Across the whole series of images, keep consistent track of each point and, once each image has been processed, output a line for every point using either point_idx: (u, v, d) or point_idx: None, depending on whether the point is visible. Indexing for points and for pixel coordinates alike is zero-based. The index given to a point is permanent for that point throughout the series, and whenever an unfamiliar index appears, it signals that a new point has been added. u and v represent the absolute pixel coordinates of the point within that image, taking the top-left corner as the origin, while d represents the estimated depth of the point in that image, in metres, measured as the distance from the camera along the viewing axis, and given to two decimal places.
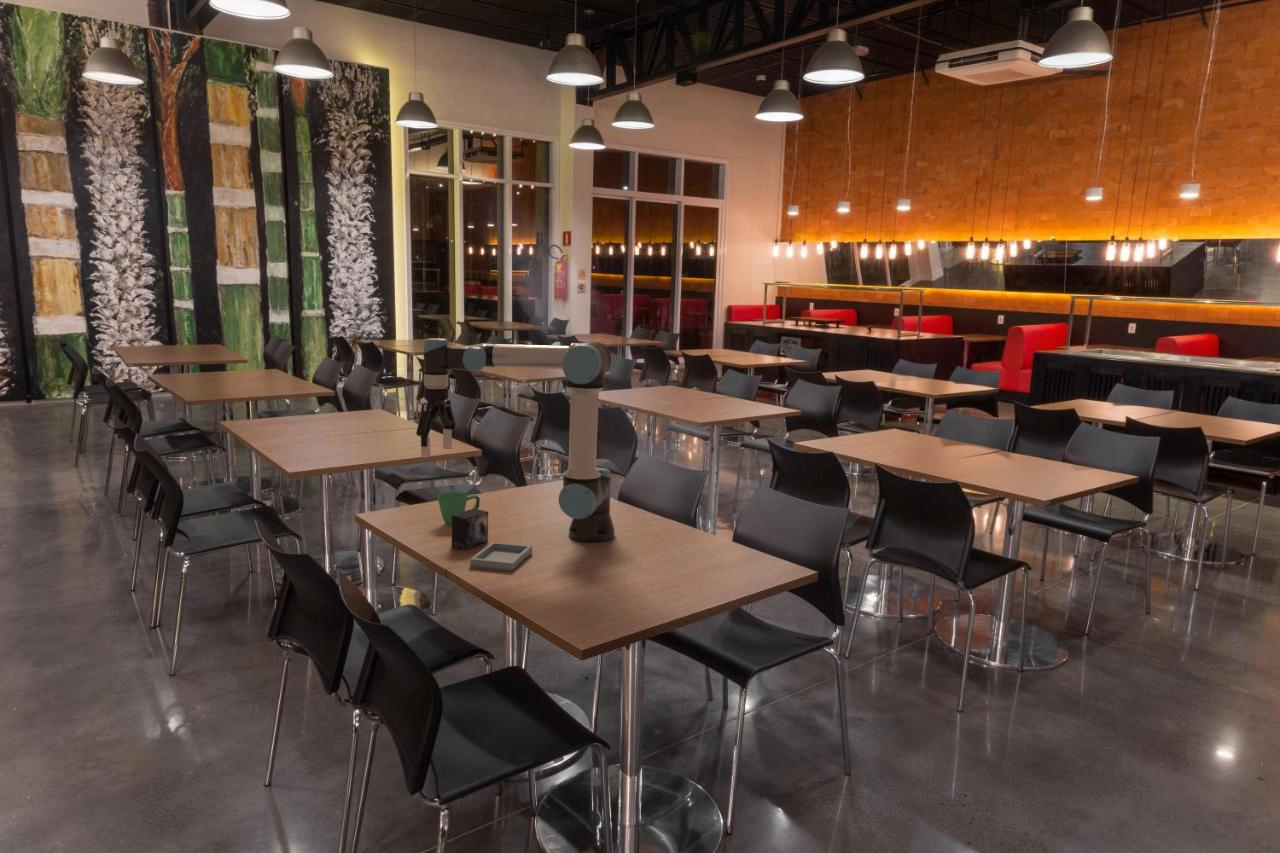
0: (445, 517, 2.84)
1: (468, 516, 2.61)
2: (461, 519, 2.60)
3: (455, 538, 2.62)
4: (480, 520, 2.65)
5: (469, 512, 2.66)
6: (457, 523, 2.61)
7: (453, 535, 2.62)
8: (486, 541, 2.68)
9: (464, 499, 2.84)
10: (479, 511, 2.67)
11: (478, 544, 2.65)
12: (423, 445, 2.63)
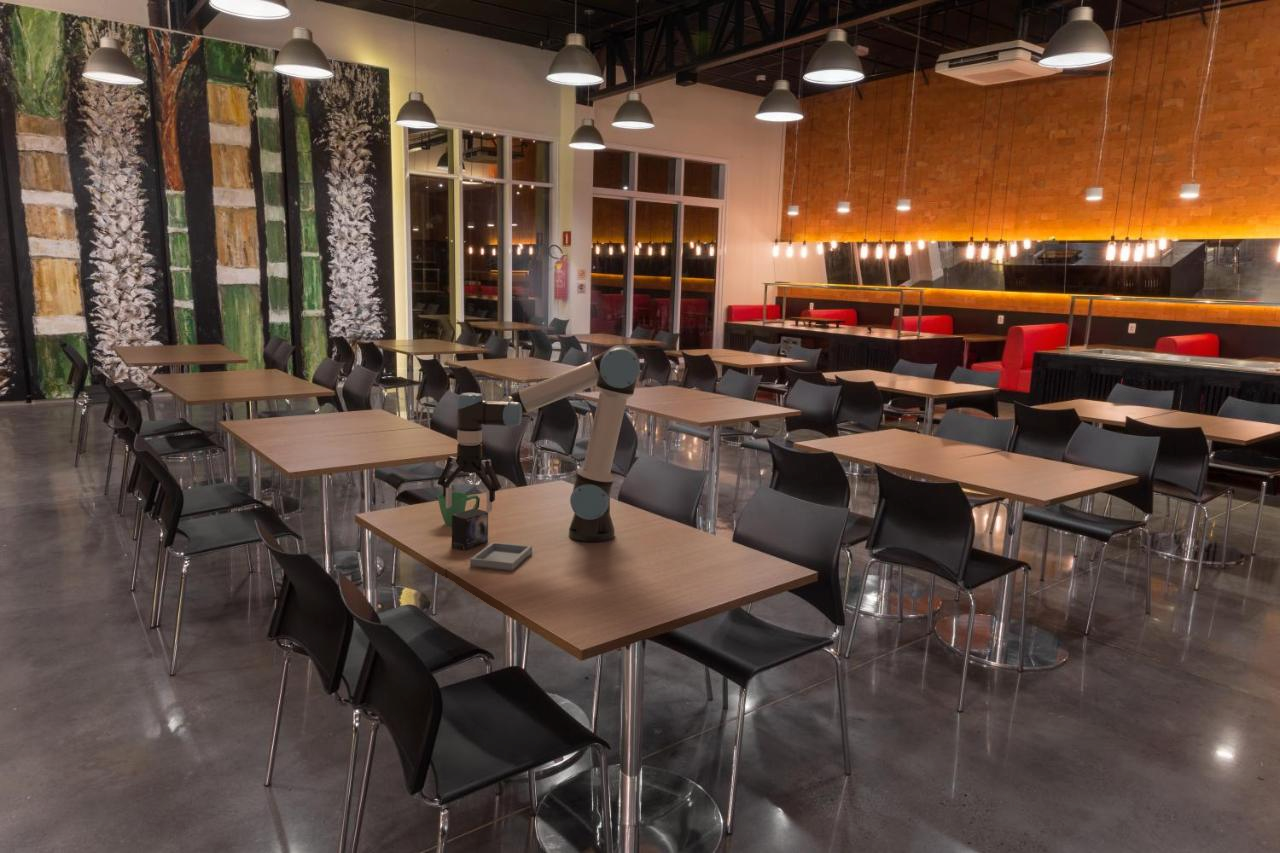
0: (445, 517, 2.84)
1: (468, 516, 2.61)
2: (461, 519, 2.60)
3: (455, 538, 2.62)
4: (480, 520, 2.65)
5: (469, 512, 2.66)
6: (457, 523, 2.61)
7: (453, 535, 2.62)
8: (486, 541, 2.68)
9: (464, 499, 2.84)
10: (479, 511, 2.67)
11: (478, 544, 2.65)
12: None
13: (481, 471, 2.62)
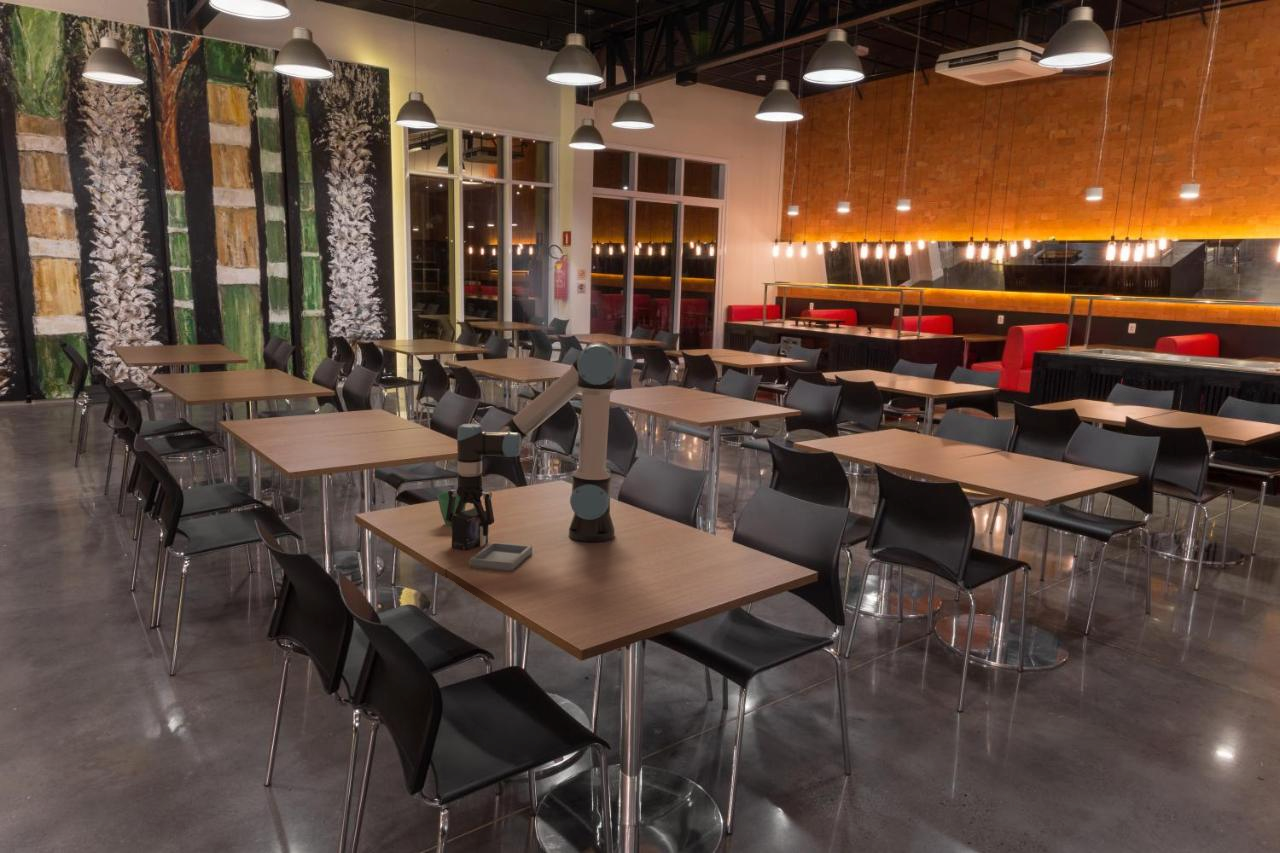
0: (445, 517, 2.84)
1: (469, 516, 2.61)
2: (461, 519, 2.60)
3: (456, 538, 2.62)
4: None
5: (469, 511, 2.66)
6: (457, 523, 2.61)
7: (453, 535, 2.62)
8: (486, 541, 2.68)
9: None
10: None
11: (478, 544, 2.65)
12: None
13: (479, 503, 2.64)
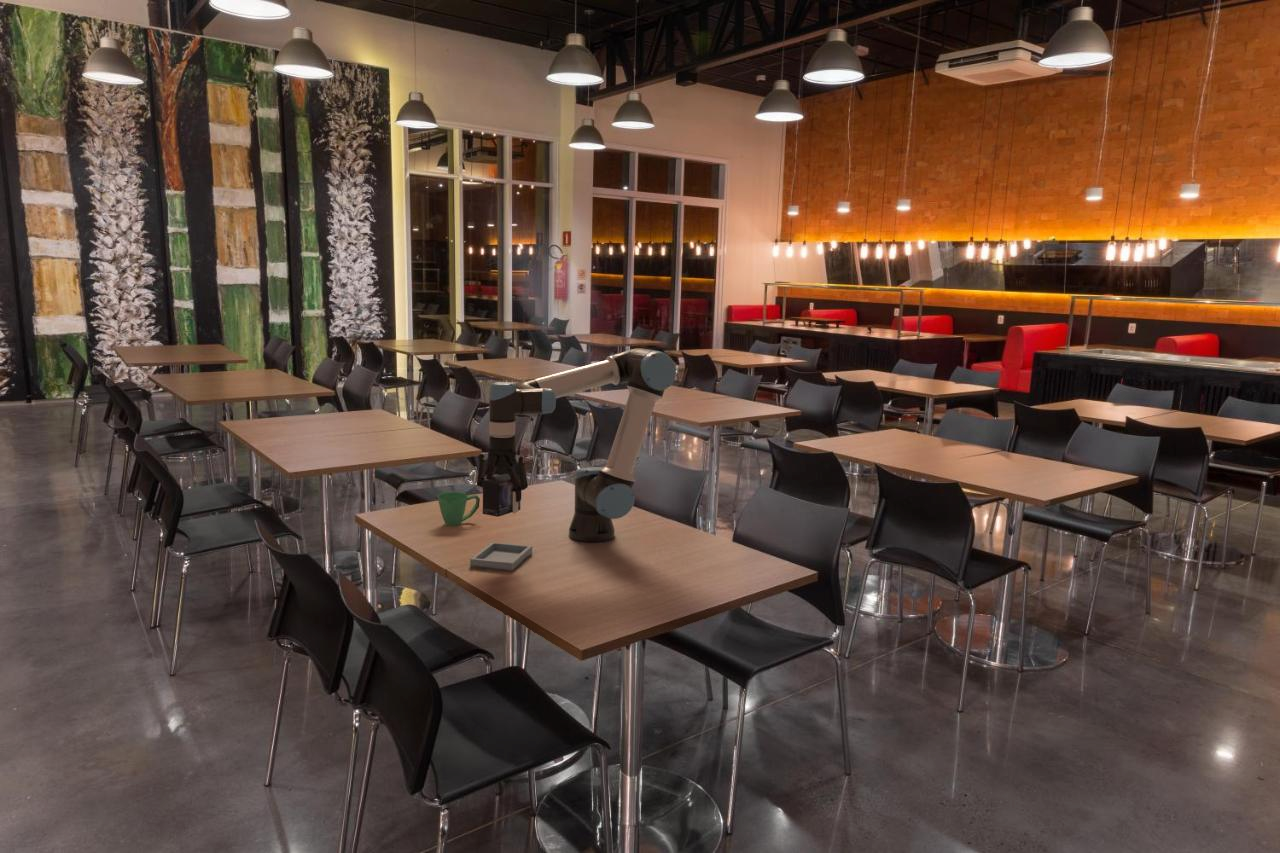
0: (445, 517, 2.84)
1: (501, 481, 2.45)
2: (492, 484, 2.44)
3: (487, 504, 2.46)
4: (513, 485, 2.48)
5: (500, 476, 2.49)
6: (489, 488, 2.45)
7: (484, 501, 2.46)
8: (519, 508, 2.52)
9: (464, 499, 2.84)
10: None
11: (511, 511, 2.49)
12: None
13: (512, 467, 2.47)
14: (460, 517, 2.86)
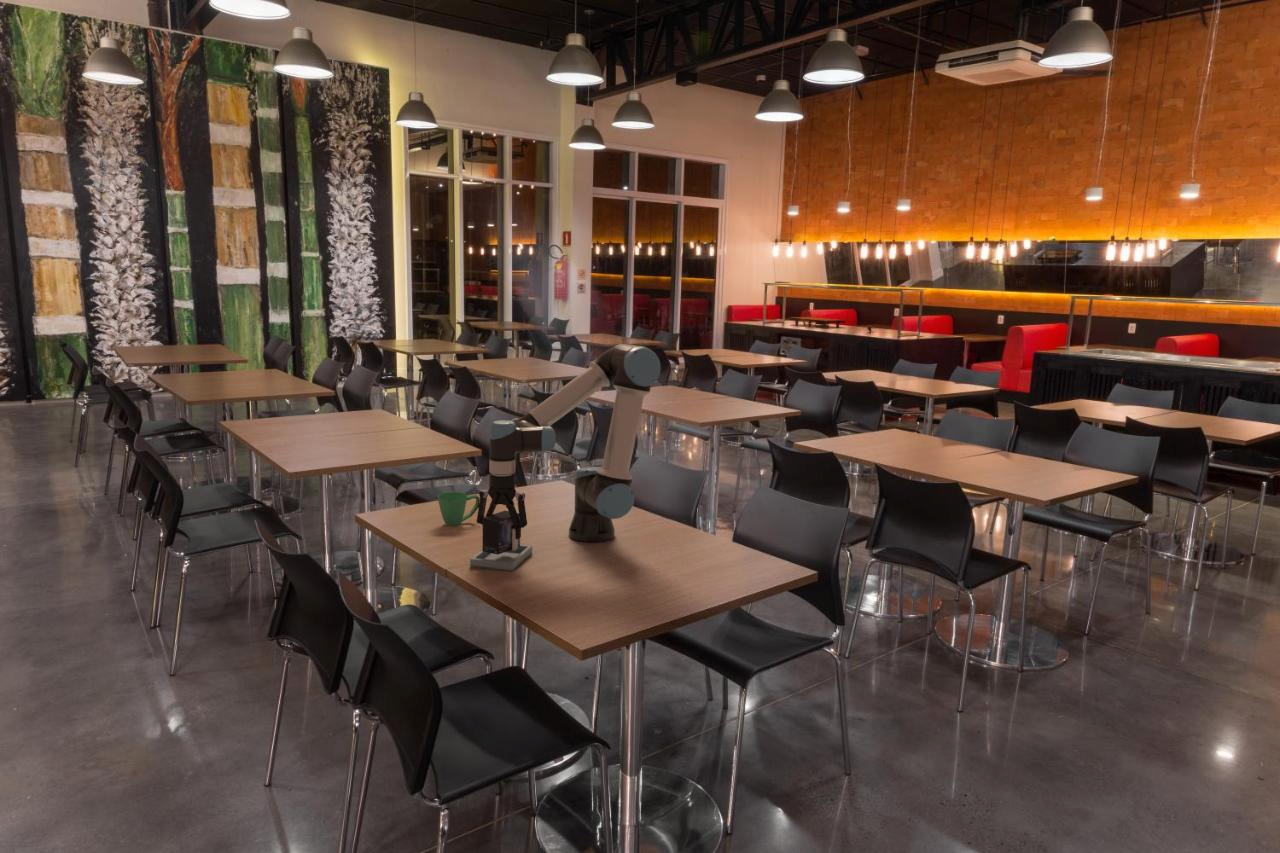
0: (445, 517, 2.84)
1: (500, 519, 2.46)
2: (492, 522, 2.46)
3: (487, 542, 2.48)
4: (512, 522, 2.50)
5: (499, 514, 2.51)
6: (489, 526, 2.46)
7: (484, 539, 2.48)
8: (518, 545, 2.54)
9: (464, 499, 2.84)
10: None
11: (510, 548, 2.51)
12: None
13: (512, 505, 2.49)
14: (460, 517, 2.86)
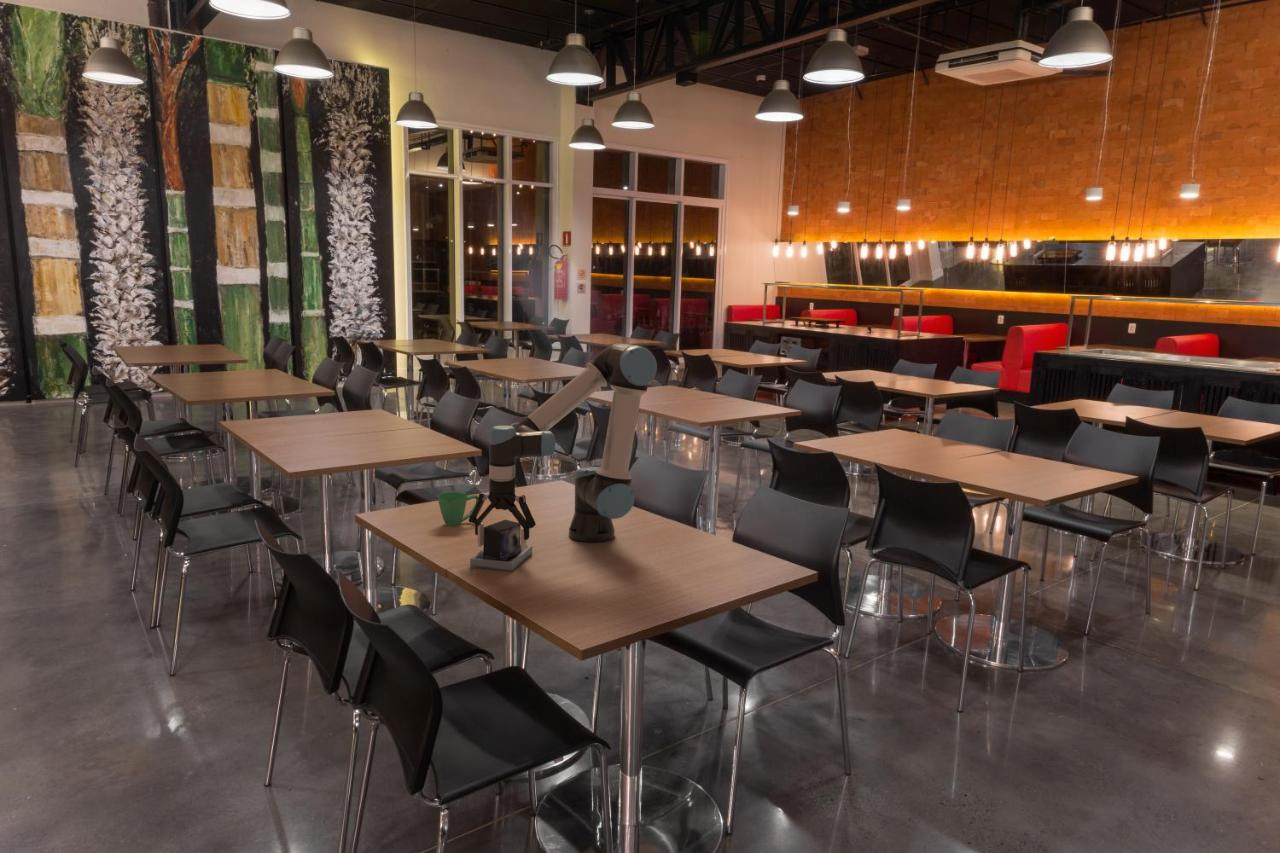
0: (445, 517, 2.84)
1: (502, 529, 2.47)
2: (494, 532, 2.46)
3: (488, 552, 2.48)
4: (513, 532, 2.51)
5: (500, 523, 2.52)
6: (490, 536, 2.47)
7: (485, 548, 2.48)
8: (518, 554, 2.55)
9: (464, 499, 2.84)
10: (512, 523, 2.53)
11: (511, 557, 2.52)
12: None
13: (515, 508, 2.49)
14: (460, 517, 2.86)
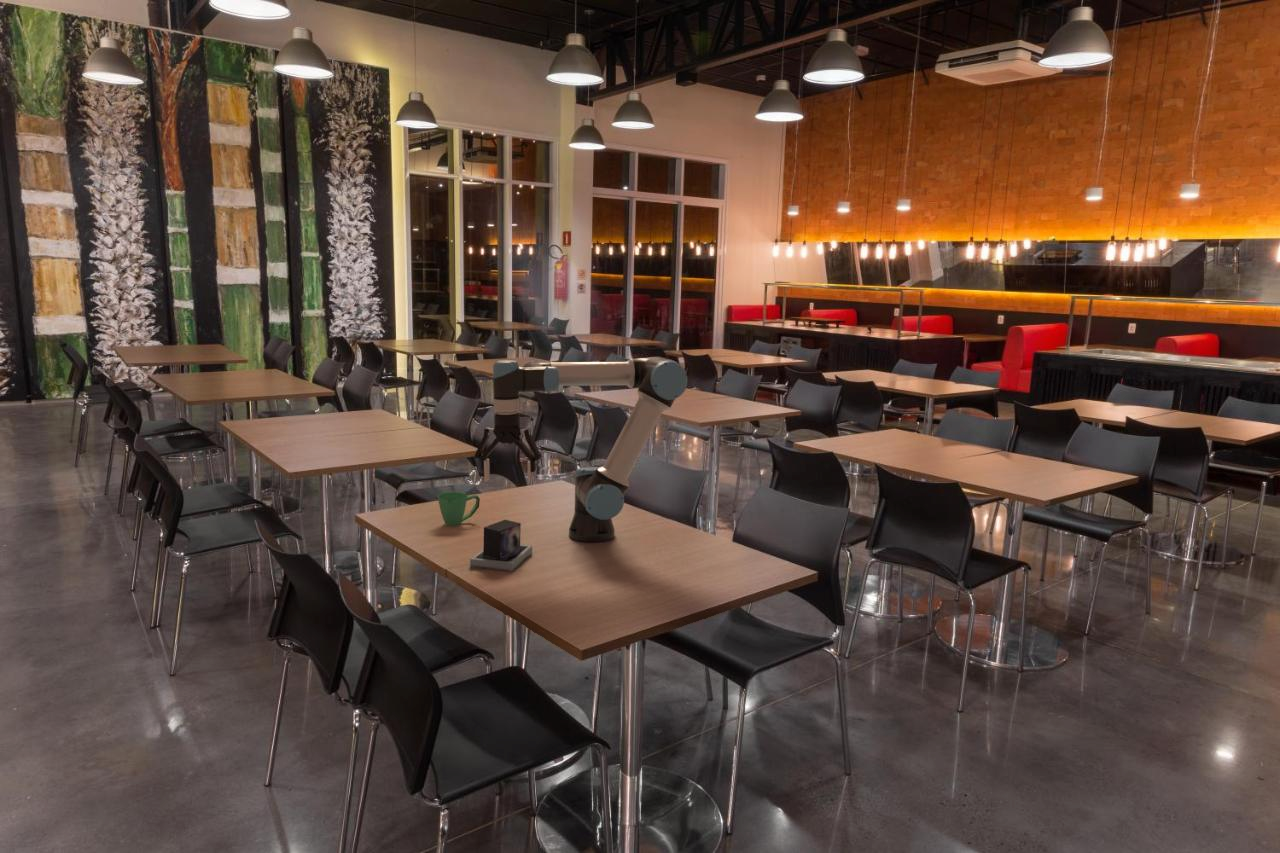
0: (445, 517, 2.84)
1: (502, 529, 2.47)
2: (494, 532, 2.46)
3: (488, 552, 2.48)
4: (513, 532, 2.51)
5: (500, 523, 2.52)
6: (490, 536, 2.47)
7: (485, 548, 2.48)
8: (518, 554, 2.55)
9: (464, 499, 2.84)
10: (512, 523, 2.53)
11: (511, 557, 2.52)
12: None
13: (520, 441, 2.53)
14: (460, 517, 2.86)
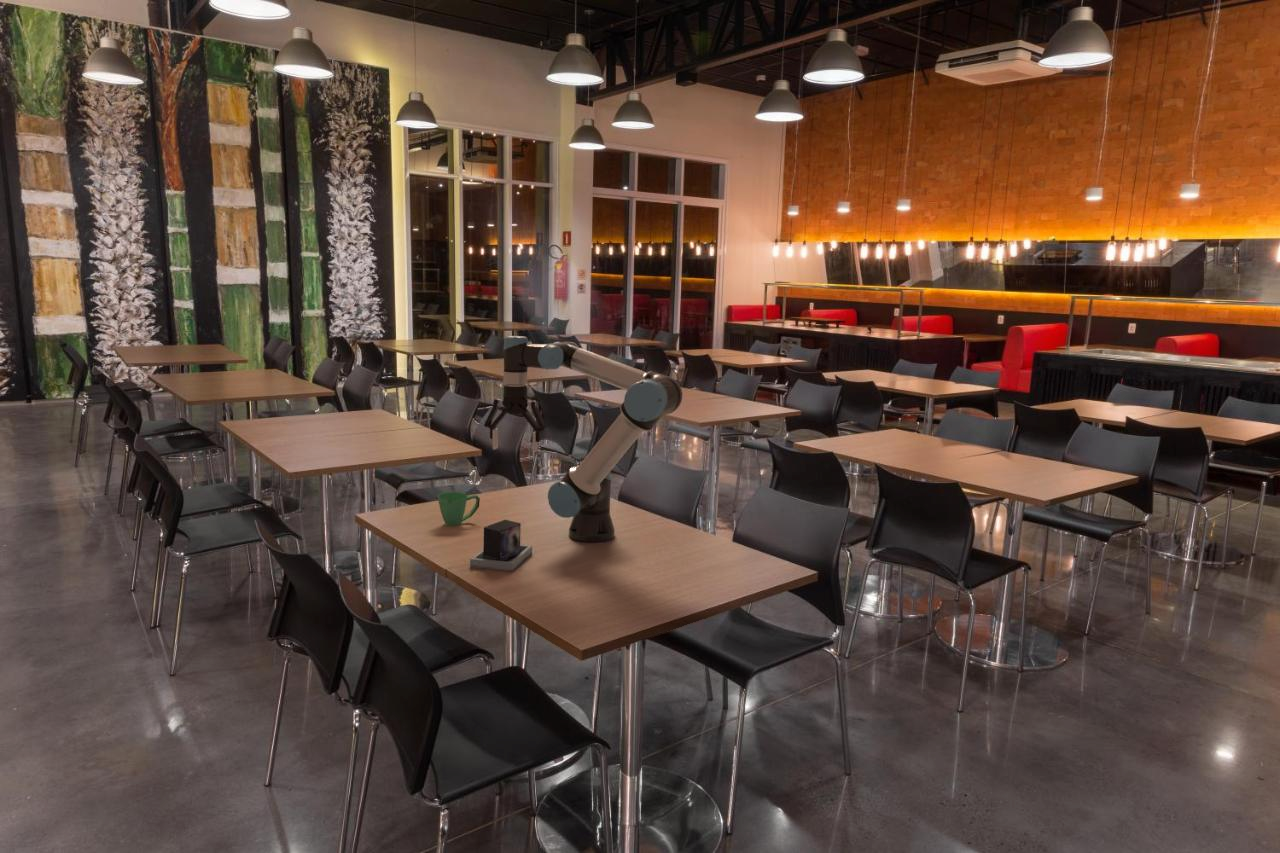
0: (445, 517, 2.84)
1: (502, 529, 2.47)
2: (494, 532, 2.46)
3: (488, 552, 2.48)
4: (513, 532, 2.51)
5: (500, 523, 2.52)
6: (490, 536, 2.47)
7: (485, 548, 2.48)
8: (518, 554, 2.55)
9: (464, 499, 2.84)
10: (512, 523, 2.53)
11: (511, 557, 2.52)
12: None
13: (527, 412, 2.69)
14: (460, 517, 2.86)
